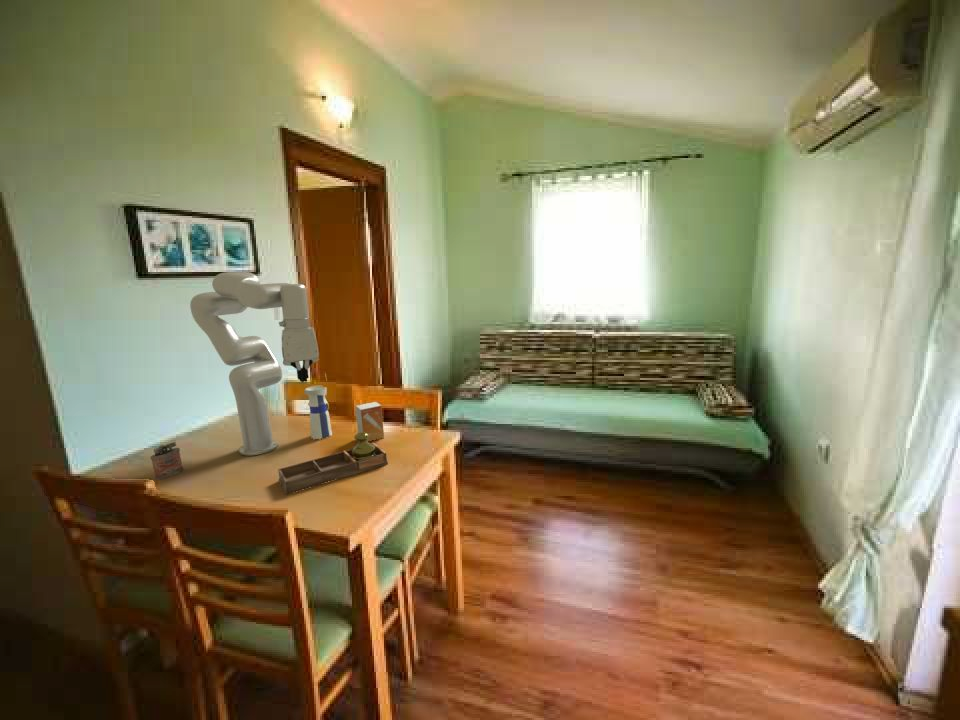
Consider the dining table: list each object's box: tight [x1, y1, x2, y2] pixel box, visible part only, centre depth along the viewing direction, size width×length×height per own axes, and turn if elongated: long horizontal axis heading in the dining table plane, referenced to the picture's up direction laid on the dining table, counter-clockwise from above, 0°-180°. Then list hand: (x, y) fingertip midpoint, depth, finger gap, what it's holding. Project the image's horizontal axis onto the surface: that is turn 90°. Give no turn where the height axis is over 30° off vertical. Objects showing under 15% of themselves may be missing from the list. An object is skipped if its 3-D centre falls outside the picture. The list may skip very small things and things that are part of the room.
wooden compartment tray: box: [277, 442, 389, 495], centre depth 137 cm, size 11×31×4 cm, turn 125°
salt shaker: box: [352, 431, 376, 461], centre depth 142 cm, size 7×7×10 cm
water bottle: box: [304, 373, 333, 440], centre depth 167 cm, size 8×8×25 cm
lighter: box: [150, 442, 184, 480], centre depth 140 cm, size 8×3×10 cm, turn 148°
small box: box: [355, 401, 385, 442], centre depth 163 cm, size 8×6×13 cm
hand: (303, 381), depth 139 cm, fingers closed
